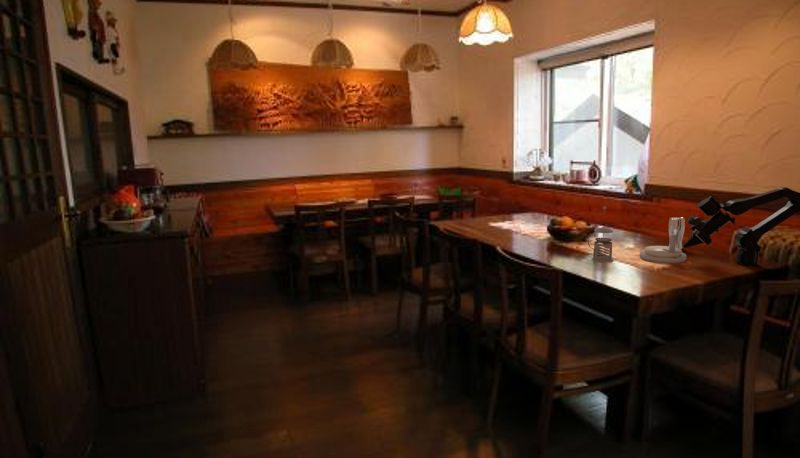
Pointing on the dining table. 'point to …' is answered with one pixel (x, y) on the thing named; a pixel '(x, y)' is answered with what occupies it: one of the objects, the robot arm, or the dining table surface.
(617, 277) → the dining table surface
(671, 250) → the dial
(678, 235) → the beer glass
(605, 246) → the french press
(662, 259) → the base
